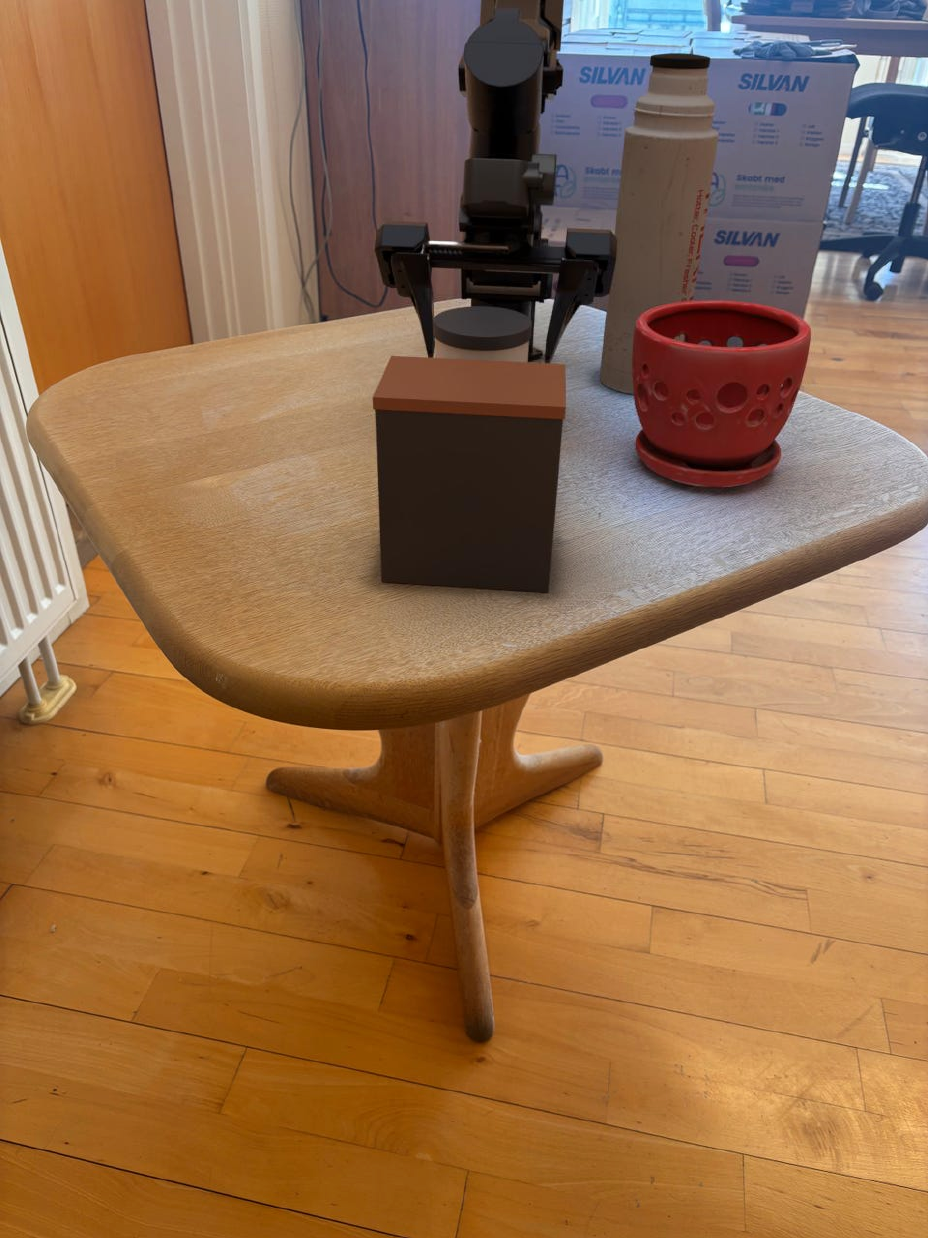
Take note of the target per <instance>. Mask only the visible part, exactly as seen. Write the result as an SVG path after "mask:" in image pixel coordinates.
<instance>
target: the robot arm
mask: <svg viewBox="0 0 928 1238" xmlns="http://www.w3.org/2000/svg"><path fill="white" fill-rule="evenodd" d="M564 5H565V0H480V12H479V25H478V26H477V27H476V29H475V30H474V31H473V32H472V33H471V34H470V36H469V37H468V39H467V41H466V42H465V43H464V46H463V53H462V55H461V57H460V61H459V63H458V68H457V69H458V72H457V73H458V88H459V93H460V94H461V95H462V97H463V98H466V114H467V120H468V122H469V125H470V137H469V148H468V158H467V159H465V160H464V161H463V163H464V164H463V179H462V180H463V182H462V193H461V195H460V201H459V202H460V204H459V216H458V229H459V230H458V231H459V232H460V233H461V241H451V240H449V241H446V240H431V237H430V230H429V224H428V222H422V221H401V220H398V221H397V220H385V221H384V222H382V224H380V226H379V227H378V228H377V230H376V233H375V241H374V253H375V257H376V261H377V265H378V269H379V273H380V277H381V281H382V284H383V285H384V286H386V287H388V288H389V289H396V292H397V295H398V296H400V297H402V298H408V299H410V301H411V303H412V306H413V309H414V311H415V313H416V316H417V318H418V321H419V325H420V328H421V333H422V337H423V341H424V346H425V350H426V355H427V357H428V358H434V355H435V337H434V335H433V319H434V317H435V301H434V300H435V299H434V297H435V296H434V289H433V288H434V287H433V281H432V276H433V275H432V274H433V269H455V270H460V278H461V279H460V284H461V287H460V288H461V290H460V291H461V292H460V293H461V300H465V301H466V300H470V307H471V306H486V307H498V308H504V309H509V310H513V311H517V312H519V313H522V314H524V315H526V316H527V317H529V318H530V319H531V321H532V331H531V338H530V340H529V345H528V361H531V360H534V359H538V358H542V357H543V356H544V363H551V361H552V360H553V358H554V355H555V353H556V350H557V348H558V346H559V344H560V341H561V339H562V337H563V335H564V333H565V331H566V329H567V326H568V325H569V323H570V322H571V321H572V319H573V317H574V316H575V315H576V313H577V311H578V310H579V308H580V307H581V306H590V305H593V303H594V300H595V298H604V297H607V296H609V293H610V288H611V283H612V278H613V273H614V269H615V264H616V255H617V238H616V237H615V235H614V234H615V233H613V231H612V230H611V229H605V228H604V229H600V228H599V229H598V228H577V227H575V228H574V227H567V228H566V234H565V244H564V246H551V245H549V237H542V235H543V233H542V232H543V219H544V218H543V216H544V214H543V211H542V209H541V208H542V206H553V205H554V201H555V189H556V188H555V187H556V174H557V173H556V172H557V160H558V159H557V156H558V155H557V154H555V153H553V154H552V153H540V144H541V124H540V119H541V115H543V114H544V113H545V112H546V100H547V101H548V100H549V101H551V100H552V101H553V100H554V99H555V96H557V94H558V93H557V92H558V90H559V88H563V80H564V79H563V78H564V66H563V65H562V64H561V63H560V59H559V58H557V56H558V53H560V52H561V48H562V34H563V21H564V19H563V18H564ZM554 275H558V278H557V283H556V288H555V293H554V297H553V298H554V299H553V304H552V309H551V315H550V319H549V324H548V329H547V333H546V339H545V350H544V351H545V352H544V351H543V350H541V349H540V348H537V347H534V335H535V322H536V321H535V320H536V319H535V318H536V306H537V304H536V303H539V304H545V301H547V300H550V299H552V295H553V281H554ZM539 282H540V283H539Z"/></svg>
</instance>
